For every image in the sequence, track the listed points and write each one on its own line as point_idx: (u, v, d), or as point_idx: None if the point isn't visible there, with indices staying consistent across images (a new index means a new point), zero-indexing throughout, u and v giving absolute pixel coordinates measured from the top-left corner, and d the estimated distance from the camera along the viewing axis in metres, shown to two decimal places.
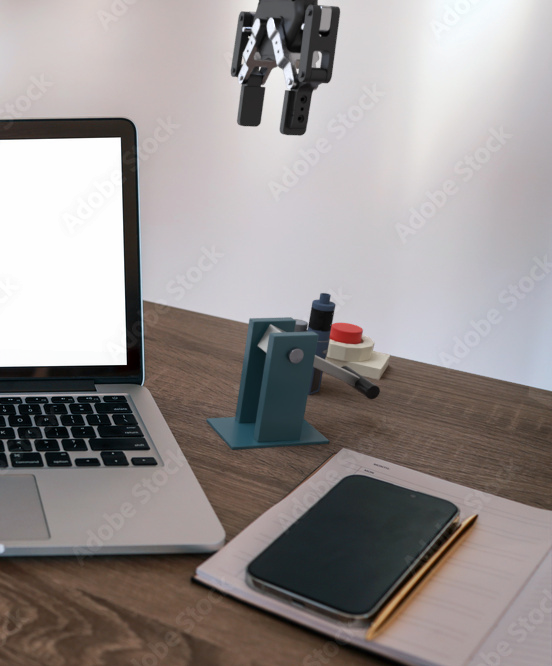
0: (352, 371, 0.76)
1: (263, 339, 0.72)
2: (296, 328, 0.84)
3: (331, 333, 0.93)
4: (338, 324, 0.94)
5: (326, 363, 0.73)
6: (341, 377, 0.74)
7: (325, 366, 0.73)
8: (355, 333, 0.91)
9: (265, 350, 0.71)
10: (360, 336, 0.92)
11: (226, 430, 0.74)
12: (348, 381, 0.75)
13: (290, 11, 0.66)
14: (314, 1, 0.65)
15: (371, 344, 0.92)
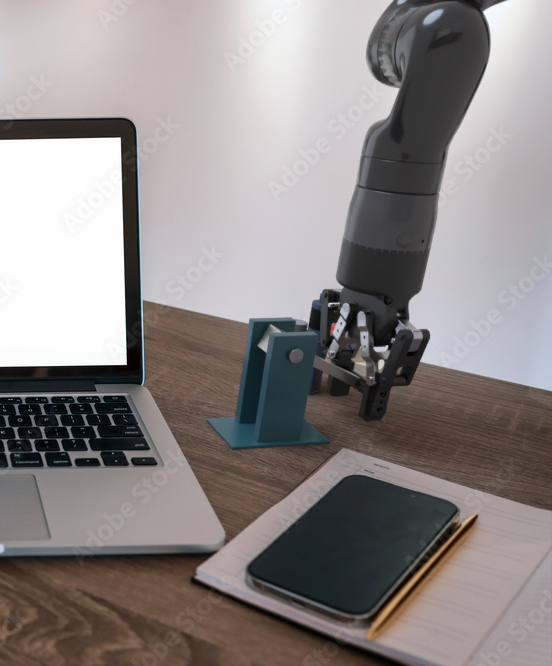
0: (352, 371, 0.76)
1: (263, 339, 0.72)
2: (296, 328, 0.84)
3: (331, 333, 0.93)
4: None
5: (326, 363, 0.73)
6: (341, 377, 0.74)
7: (325, 366, 0.73)
8: None
9: (265, 350, 0.71)
10: None
11: (226, 430, 0.74)
12: (348, 381, 0.75)
13: (382, 312, 0.70)
14: (406, 306, 0.69)
15: None
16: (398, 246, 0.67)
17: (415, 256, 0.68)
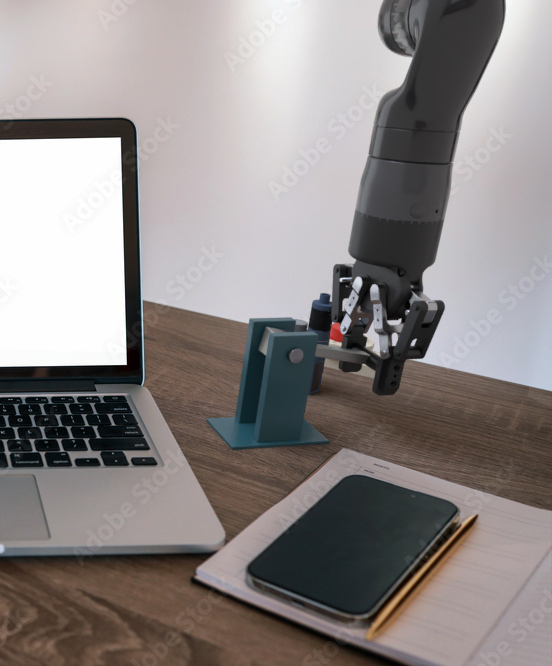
0: (362, 348, 0.76)
1: (263, 343, 0.72)
2: (296, 328, 0.84)
3: (331, 333, 0.93)
4: (338, 324, 0.94)
5: (331, 350, 0.73)
6: (350, 359, 0.74)
7: (331, 353, 0.73)
8: None
9: None
10: None
11: (226, 430, 0.74)
12: (359, 361, 0.74)
13: (395, 284, 0.69)
14: (419, 277, 0.69)
15: (371, 344, 0.92)
16: (412, 216, 0.67)
17: (429, 227, 0.67)
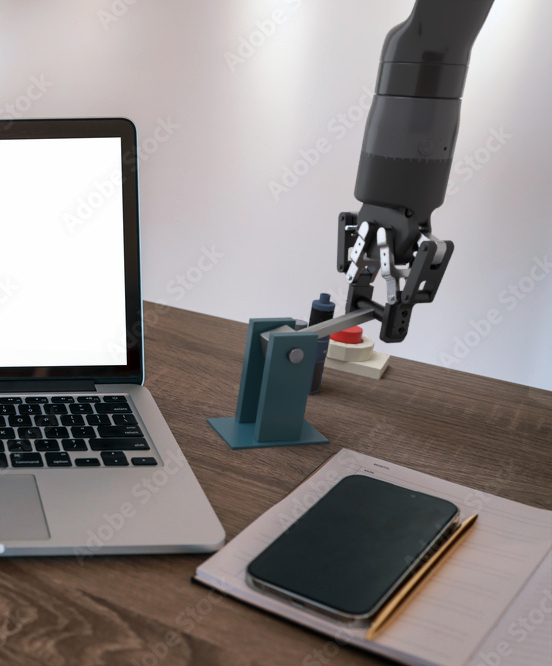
0: (365, 303, 0.74)
1: (264, 350, 0.73)
2: (296, 328, 0.84)
3: None
4: None
5: (333, 325, 0.72)
6: (356, 323, 0.73)
7: (334, 327, 0.72)
8: (355, 333, 0.91)
9: None
10: (360, 336, 0.92)
11: (226, 430, 0.74)
12: (366, 320, 0.73)
13: (403, 226, 0.67)
14: (428, 218, 0.67)
15: (371, 344, 0.92)
16: (420, 154, 0.65)
17: (437, 165, 0.65)
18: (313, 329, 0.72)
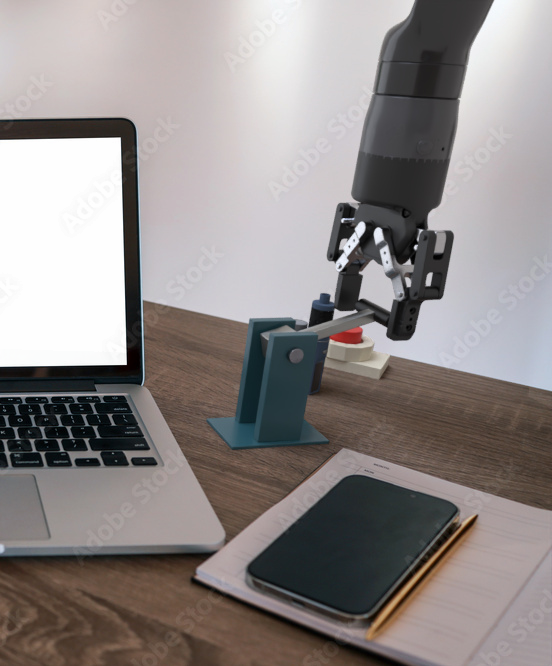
0: (366, 305, 0.74)
1: (264, 349, 0.73)
2: (296, 328, 0.84)
3: None
4: None
5: (333, 326, 0.72)
6: (356, 324, 0.73)
7: (334, 329, 0.72)
8: (355, 333, 0.91)
9: None
10: (360, 336, 0.92)
11: (226, 430, 0.74)
12: (366, 322, 0.73)
13: (400, 226, 0.67)
14: (425, 218, 0.67)
15: (371, 344, 0.92)
16: (417, 154, 0.65)
17: (435, 165, 0.65)
18: (313, 330, 0.72)
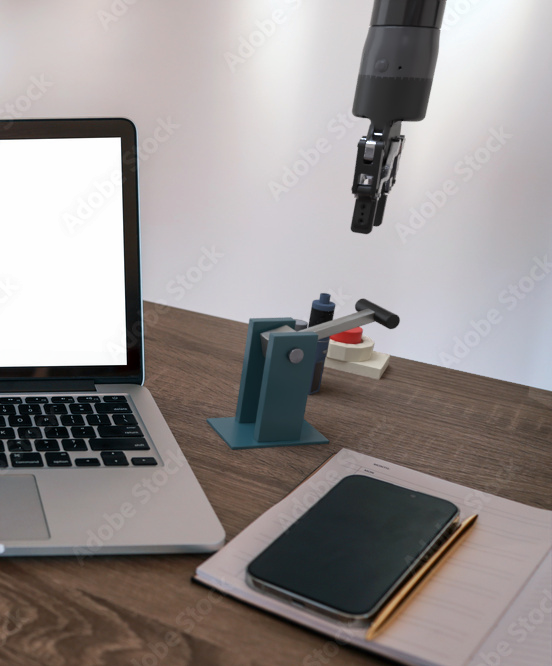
0: (366, 305, 0.74)
1: (264, 349, 0.73)
2: (296, 328, 0.84)
3: None
4: None
5: (333, 326, 0.72)
6: (356, 324, 0.73)
7: (334, 329, 0.72)
8: (355, 333, 0.91)
9: None
10: (360, 336, 0.92)
11: (226, 430, 0.74)
12: (366, 322, 0.73)
13: None
14: (384, 126, 0.82)
15: (371, 344, 0.92)
16: (376, 71, 0.81)
17: (392, 81, 0.80)
18: (313, 330, 0.72)
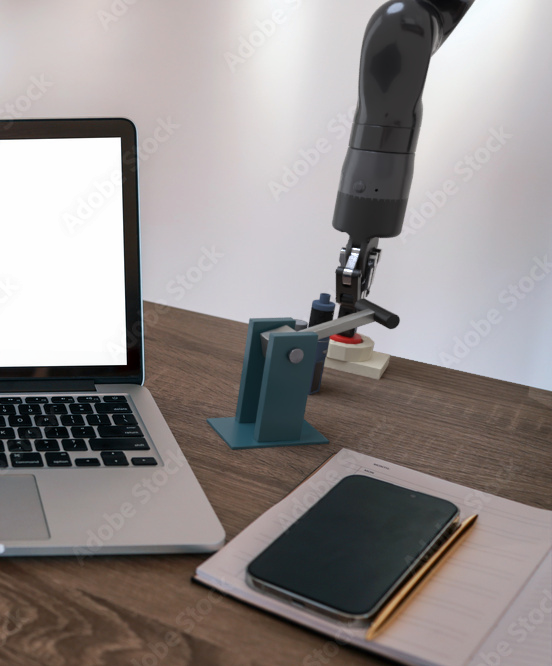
0: (366, 305, 0.74)
1: (264, 349, 0.73)
2: (296, 328, 0.84)
3: None
4: None
5: (333, 326, 0.72)
6: (356, 324, 0.73)
7: (334, 329, 0.72)
8: (353, 340, 0.92)
9: None
10: (359, 343, 0.92)
11: (226, 430, 0.74)
12: (366, 322, 0.73)
13: None
14: (362, 243, 0.86)
15: (371, 344, 0.92)
16: (354, 191, 0.85)
17: (369, 202, 0.84)
18: (313, 330, 0.72)
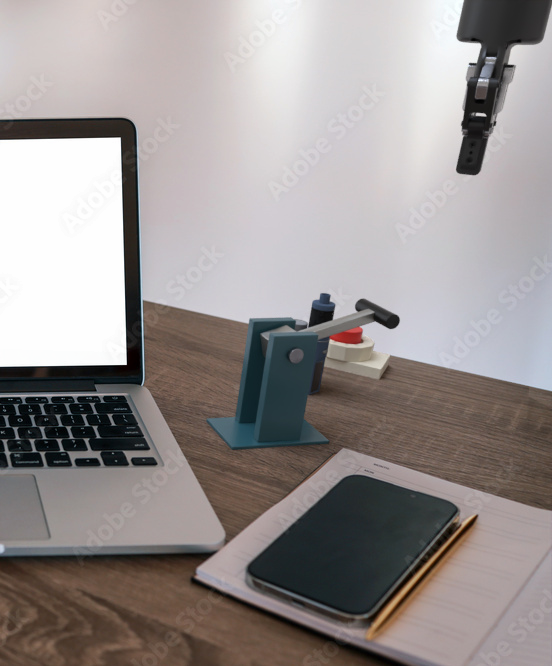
0: (366, 305, 0.74)
1: (264, 349, 0.73)
2: (296, 328, 0.84)
3: None
4: None
5: (333, 326, 0.72)
6: (356, 324, 0.73)
7: (334, 329, 0.72)
8: (355, 333, 0.91)
9: None
10: (360, 336, 0.92)
11: (226, 430, 0.74)
12: (366, 322, 0.73)
13: None
14: (499, 48, 0.72)
15: (371, 344, 0.92)
16: None
17: None
18: (313, 330, 0.72)
